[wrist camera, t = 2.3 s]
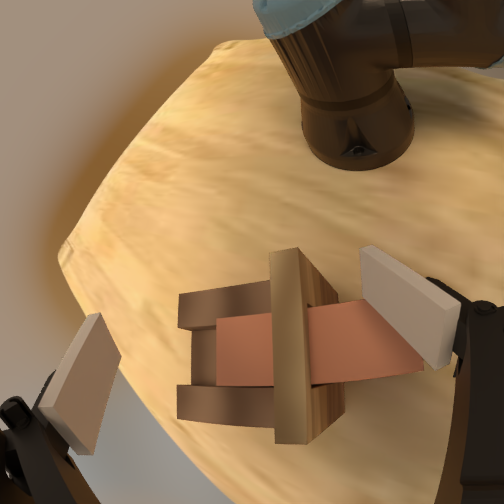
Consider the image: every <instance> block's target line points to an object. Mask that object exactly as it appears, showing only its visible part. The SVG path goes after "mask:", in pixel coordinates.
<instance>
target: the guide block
mask: <svg viewBox="0 0 504 504" xmlns="http://www.w3.org/2000/svg"><path fill="white" fill-rule="evenodd" d="M269 260H270V280H267V281H261V282H255V283H249V284H243V285H236V286H230V287H223V288H217V289H210V290H204V291H197V292H190V293H183V294H179V306H178V328H181V329H185V330H189V331H192V344H191V385H177V419H182V420H188V421H196V422H204V423H212V424H222V425H233V426H246V427H264V428H275V444H308V443H309V442H311V441H312V440H313V439H314V438H316V437H317V436H318V435H319V434H320V433H322V432H323V431H324V430H325V429H326V428H328V427H329V426H330V425H331V424H332V423H333V422H335V421H336V420H337V419H338V418H339V417H340V416H341V415H343V414H344V413H345V403H344V382H335V383H322V384H311V368H310V346H309V328H308V311H307V308H311V307H318V306H324V305H331V304H338V294H337V292H336V291H335V290H334V289H333V288H332V287H331V285H330V284H329V283H328V282H327V281H326V279H325V278H324V277H323V276H322V275H321V274H320V272H319V271H318V270H317V269H316V268H315V267H314V266H313V264H312V263H311V262H310V261H309V260H308V259H307V257H306V256H305V255H304V254H303V253H302V252H301V251H300V249H299V248H298V247H297V248H292V249H287V250H282V251H277V252H272V253H269ZM264 313H272V343H273V378H274V386H217V385H216V319H217V318H228V317H237V316H247V315H256V314H264Z"/></svg>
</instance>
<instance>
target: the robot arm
mask: <svg viewBox="0 0 504 504" xmlns="http://www.w3.org/2000/svg"><path fill="white" fill-rule="evenodd" d="M253 8H254V11H255V12H256V14H257V16H258V18H259V20H260V22H261V24H262V26H263V28H264V34H265V36H266V37H267V38H268V39H269V40H270V41H271V43H272V45H273V47H274V48H275V50H276V52H277V54H278V55H279V57H280V59H281V61H282V63H283V65H284V66H285V68H286V70H287V72H288V74H289V76H290V78H291V79H292V81H293V83H294V85H295V87H296V89H297V91H298V93H299V95H300V98H301V114H302V130H303V134H304V137H305V139H306V141H307V143H308V145H309V147H310V149H311V150H312V152H313V153H314V154H315V155H316V156H317V157H318V158H319V159H321V160H322V161H323V162H325V163H327V164H329V165H331V166H334V167H337V168H340V169H346V170H368V169H374V168H378V167H381V166H383V165H386V164H388V163H390V162H392V161H394V160H395V159H397V158H398V157H399V156H400V155H402V154H403V153H404V152H405V150H406V149H407V148H408V146H409V145H410V143H411V141H412V139H413V135H414V115H413V110H412V107H411V105H410V102H409V101H408V99H407V97H406V96H405V94H404V92H403V90H402V88H401V86H400V85H399V83H398V81H397V80H396V78H395V76H394V71H393V69H397V68H415V67H475V68H478V69H491V68H504V0H253ZM359 251H360V264H361V280H362V297H363V298H364V299H365V300H366V301H367V302H368V303H369V304H370V305H371V306H372V307H373V308H374V309H375V310H376V311H377V312H378V313H379V314H380V315H381V316H382V317H383V318H384V319H385V320H386V321H387V322H388V323H389V324H390V325H391V326H392V327H393V328H394V329H395V330H396V331H397V332H398V333H399V334H400V335H401V336H402V337H403V338H404V339H405V340H406V341H407V342H408V343H409V344H410V345H411V346H412V347H413V348H414V349H415V350H416V351H417V352H418V353H419V355H420V356H421V357H422V358H423V359H424V360H425V361H426V362H427V363H428V364H429V365H430V366H431V367H432V368H433V369H434V370H435V371H436V370H438V369H440V368H442V367H444V366H446V365H448V364H449V363H450V361H451V356H452V352H454V353H455V354H456V355H458V360H457V364H456V368H455V372H454V375H453V377H456V384H455V396H454V406H453V414H452V422H451V429H450V436H449V442H448V447H447V453H446V458H445V463H444V467H443V472H442V476H441V480H440V485H439V488H438V492H437V496H436V499H435V503H434V504H504V306H502V307H497V306H496V305H495V304H493V303H491V302H489V301H483V300H481V301H475V302H471V301H470V300H468V299H467V298H465V297H464V296H462V295H461V294H459V293H458V292H456V291H455V290H452V288H450V287H449V286H446V284H444V283H443V282H441V281H440V280H437V279H434V278H431V277H426V278H424V277H422V276H421V275H419V274H418V273H416V272H415V271H413V270H412V269H410V268H409V267H407V266H405V265H404V264H402V263H401V262H399V261H398V260H396V259H395V258H393V257H391V256H390V255H388V254H387V253H385V252H383V251H382V250H380V249H379V248H377V247H375V246H374V245H369V246H366V247H362V248H359ZM120 359H121V354H120V352H119V350H118V348H117V346H116V344H115V342H114V340H113V338H112V336H111V334H110V332H109V330H108V328H107V326H106V324H105V321H104V319H103V317H102V315H101V312H100V313H95V314H91V315H88V316H87V318H86V319H85V321H84V322H83V324H82V326H81V327H80V329H79V331H78V333H77V334H76V336H75V338H74V340H73V341H72V343H71V345H70V346H69V348H68V350H67V352H66V354H65V356H64V357H63V359H62V361H61V363H60V364H59V366H58V368H57V370H55V371H54V372H53V373H52V374H51V375H50V376H49V377H48V379H47V381H46V382H45V384H44V387H43V388H42V390H41V393H40V394H39V396H38V398H37V400H36V402H35V404H34V406H33V408H32V410H30V409H29V407H28V406H27V404H26V403H25V402H24V400H23V399H22V398H21V397H19V396H14V397H11V398H9V399H7V400H6V401H5V402H4V403H3V404H2V405H1V406H0V418H1V419H2V420H3V422H4V423H5V424H6V425H7V426H8V428H9V429H8V430H4V431H2V430H1V429H0V504H101V503H100V502H99V500H98V499H97V497H96V496H95V494H94V493H93V491H92V490H91V488H90V487H89V485H88V484H87V482H86V481H85V479H84V477H83V476H82V474H81V472H80V471H79V469H78V467H77V466H76V464H75V462H74V460H73V459H72V457H71V456H70V455H69V454H68V453H67V452H68V449H69V446H70V447H71V448H72V449H73V450H74V451H75V452H76V454H77V455H93V454H94V450H95V446H96V442H97V438H98V434H99V430H100V427H101V423H102V419H103V416H104V412H105V408H106V405H107V401H108V398H109V395H110V391H111V388H112V385H113V381H114V378H115V375H116V372H117V369H118V366H119V362H120ZM6 471H7V472H8V473H9V477H8V475H7V474H6Z"/></svg>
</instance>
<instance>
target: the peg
mask: <svg viewBox="0 0 504 504" xmlns="http://www.w3.org/2000/svg"><path fill="white" fill-rule="evenodd" d="M307 311H308V328H309V346H310V368H311V384H322V383H335V382H346V381H355V380H364V379H372V378H380V377H387V376H394V375H401V374H407V373H413V372H418V371H424V365H423V358H422V357H421V356H420V355H419V353H418V352H417V351H416V350H415V349H414V348H413V347H412V346H411V345H410V344H409V343H408V342H407V341H406V340H405V339H404V338H403V337H402V336H401V335H400V334H399V333H398V332H397V331H396V330H395V329H394V328H393V327H392V326H391V325H390V324H389V323H388V322H387V321H386V320H385V319H384V318H383V317H382V316H381V315H380V314H379V313H378V312H377V311H376V310H375V309H374V308H373V307H372V306H371V305H370V304H369V303H368V302H367V301H366V300H365V299H362V300H356V301H350V302H344V303H338V304H331V305H324V306H318V307H311V308H307ZM216 385H217V386H274V378H273V343H272V313H264V314H256V315H247V316H237V317H228V318H217V319H216Z"/></svg>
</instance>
